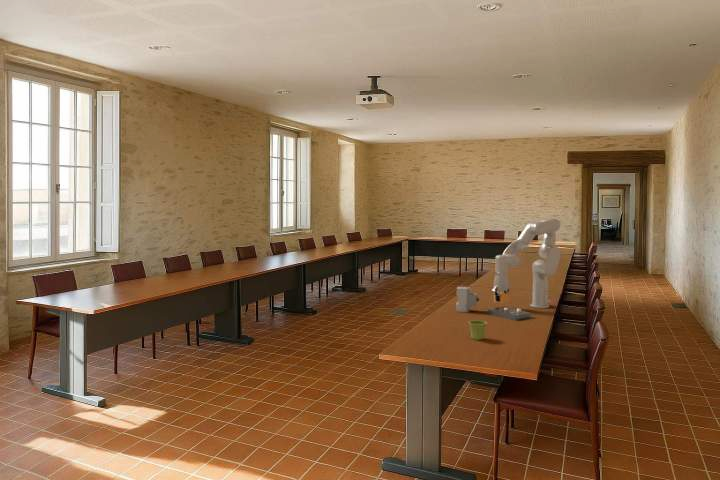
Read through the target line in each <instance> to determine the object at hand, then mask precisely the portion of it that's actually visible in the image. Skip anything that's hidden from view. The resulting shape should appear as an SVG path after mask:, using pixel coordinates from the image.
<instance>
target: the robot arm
mask: <svg viewBox="0 0 720 480" xmlns="http://www.w3.org/2000/svg"><path fill="white" fill-rule="evenodd" d="M560 228H561V221H560V220H559V219H558V218H551V217H542V218H541V219H539V221H529V222H527V224H526V225H525V227H524V228H523V229H522V231H521V233H520V234H519V236H518V237H517V238H516V240H514V241H512V242H511V243H510V244H509V245H508V246H507V247H506V248H505V250H504V251H503V253H502V254H497V255H495V276H494V279H493V289H492V292H493V295H494V294H495V301H498V302H499V301H500V296H499V294H500V292H503V293H509V292H510V289H511V286H510V285H509V276H508V267H515V266H518V265H519V264H520V262H521V258H520V257H519V256H518V255H516V253H517V252H519V251H520V250H522V249H525V248H527V247H529V246H530V244H531V243H532V241H533V239H534V238H535V236H542V239H541V243H540V246H539V249H538V255H539V257H540V258H542V259H537V260H535V261H534V262H533V263H532V265H531V266H532V267H531V270H532V302H531V303H530V304H529V306H530V307H532V308H536V309H548V308H550V304H549V303H551V302H552V300H551V299H548V291H549V290H548V285H549V280H548V277H550V276H553V275H554V274H555V273H556V271H557V268H558V265H559V264H560V259H561V257H562V256H561V254H562V253H561V249H560V248H559V247H558V246H556V241H557V233H556V232H557V231H559V230H560ZM543 259H544V260H543ZM498 302H497V303H498Z"/></svg>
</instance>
